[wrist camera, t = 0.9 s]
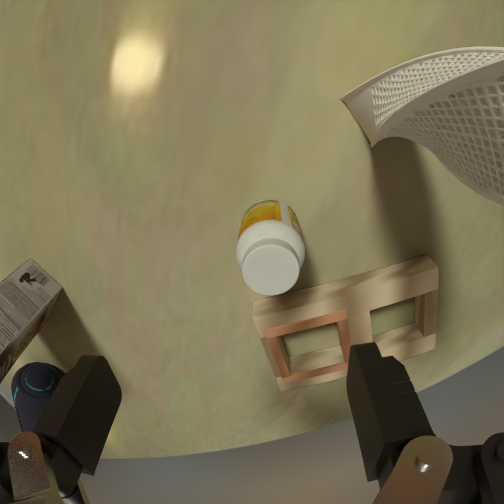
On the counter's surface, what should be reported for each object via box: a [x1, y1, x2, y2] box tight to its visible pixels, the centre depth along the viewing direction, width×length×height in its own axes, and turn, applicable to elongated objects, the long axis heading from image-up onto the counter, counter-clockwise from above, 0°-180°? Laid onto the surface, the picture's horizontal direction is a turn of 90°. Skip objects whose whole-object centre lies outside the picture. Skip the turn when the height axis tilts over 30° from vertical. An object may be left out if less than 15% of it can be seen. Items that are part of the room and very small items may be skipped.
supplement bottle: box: [236, 199, 305, 296], centre depth 26 cm, size 5×5×10 cm
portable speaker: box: [11, 362, 62, 432], centre depth 41 cm, size 25×10×10 cm, turn 154°
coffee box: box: [0, 258, 62, 383], centre depth 28 cm, size 9×6×16 cm
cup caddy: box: [253, 255, 439, 392], centre depth 34 cm, size 20×12×3 cm, turn 107°
